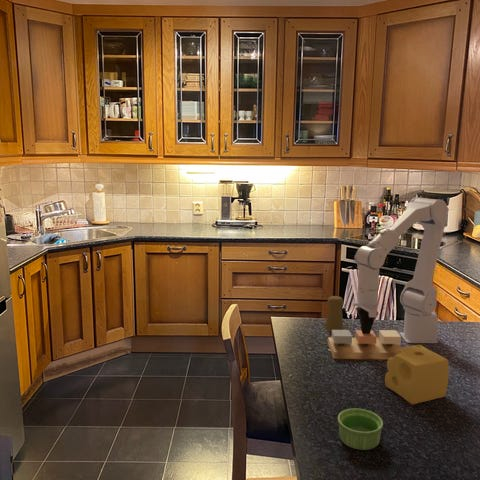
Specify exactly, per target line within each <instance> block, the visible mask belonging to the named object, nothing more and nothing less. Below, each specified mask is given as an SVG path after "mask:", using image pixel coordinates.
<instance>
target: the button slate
mask: <svg viewBox="0 0 480 480" xmlns="http://www.w3.org/2000/svg"><path fill="white" fill-rule="evenodd" d="M331 337H332V339H333V341H334V343H348V344H352V338H353V335H352V333H351V332H350V329H344V330H332V332H331Z"/></svg>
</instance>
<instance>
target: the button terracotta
mask: <svg viewBox="0 0 480 480" xmlns="http://www.w3.org/2000/svg"><path fill="white" fill-rule="evenodd" d="M354 333H355V335H354V338H356V339H357V341H358V343H359V344H376V338H378V336H377V335H376V333H375V331H373V329H371V331H370V334H363V333H362V331H361V329H355V331H354Z"/></svg>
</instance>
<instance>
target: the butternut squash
mask: <svg viewBox="0 0 480 480" xmlns="http://www.w3.org/2000/svg"><path fill="white" fill-rule="evenodd" d="M327 306H328V311H327V317H326V321H325V327H324V328H325V330H326V331H328V332H330V333H332V330H345V328H344V320H343V306H344V299H343V298H342V297H341V296H338V295H331V296H329V297H328V298H327Z"/></svg>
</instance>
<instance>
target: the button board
mask: <svg viewBox="0 0 480 480" xmlns="http://www.w3.org/2000/svg"><path fill="white" fill-rule="evenodd" d="M327 344H328V348H329V349H330V352H331V355H332V358H333V359H334V360H388V359H389V358H391V357H394V356H395V355H396V354H397V351H398V349H400V348H402V347H401V344H383V343H382V341H381V340H380V338H379V337H376V344H359V343H358V341H357V339H356V338H355V337H352V344H348V343H334V341H333V339H332V336H331V337H329V336H328V338H327Z"/></svg>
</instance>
